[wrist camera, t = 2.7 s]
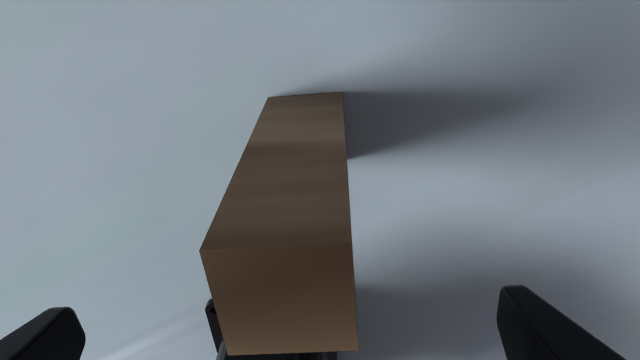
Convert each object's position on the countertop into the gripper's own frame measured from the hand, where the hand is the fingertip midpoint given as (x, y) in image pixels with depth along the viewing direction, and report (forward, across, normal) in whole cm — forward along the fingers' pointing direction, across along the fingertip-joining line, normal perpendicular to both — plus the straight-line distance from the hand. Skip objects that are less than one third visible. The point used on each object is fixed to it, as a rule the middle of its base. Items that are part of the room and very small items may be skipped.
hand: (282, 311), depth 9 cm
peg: (+10, 0, 0) cm, 10 cm away
